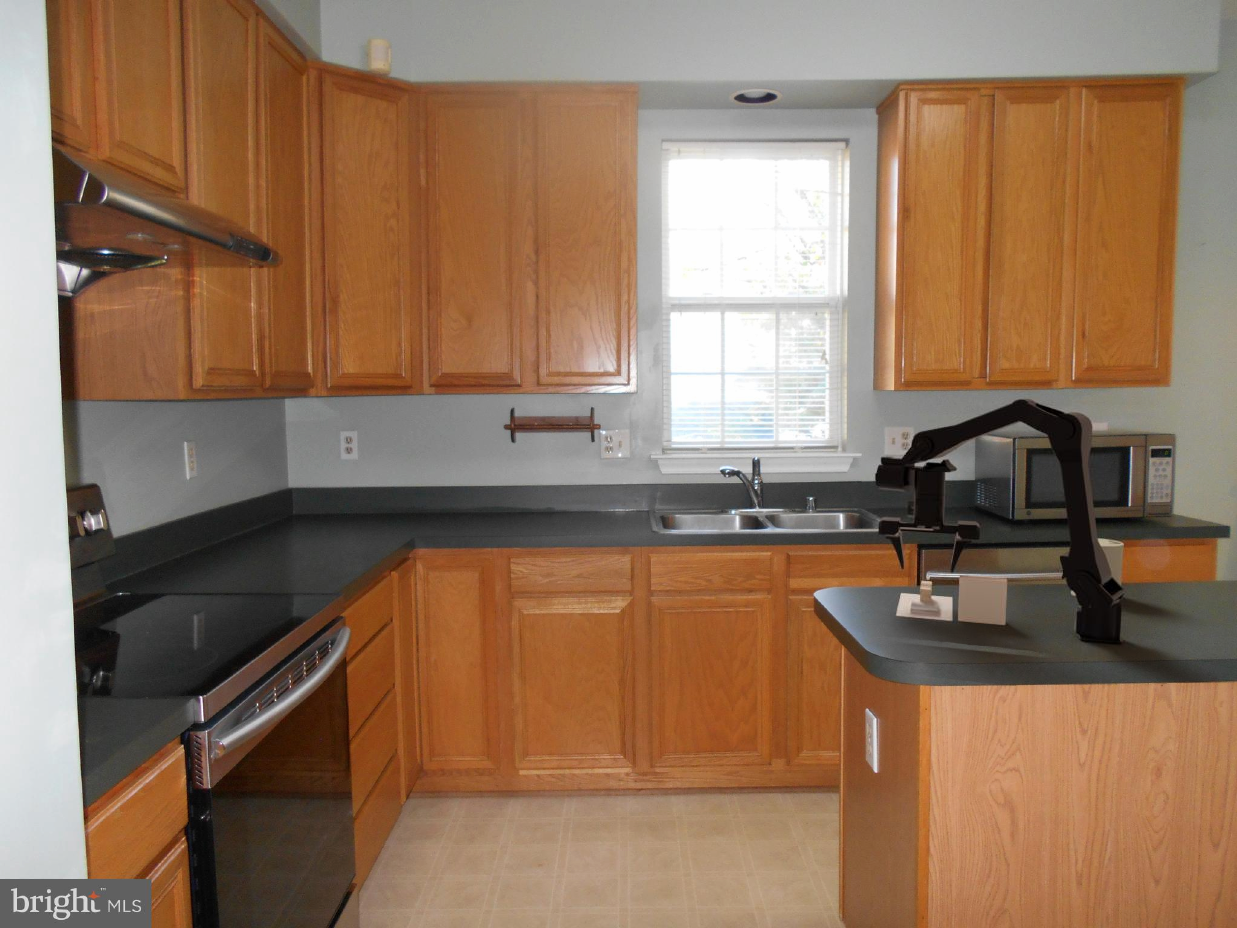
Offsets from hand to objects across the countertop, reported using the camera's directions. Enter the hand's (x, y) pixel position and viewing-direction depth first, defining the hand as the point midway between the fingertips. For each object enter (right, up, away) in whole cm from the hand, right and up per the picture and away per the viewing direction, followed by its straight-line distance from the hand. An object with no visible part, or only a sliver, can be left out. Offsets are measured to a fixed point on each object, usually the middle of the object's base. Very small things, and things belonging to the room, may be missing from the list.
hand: (927, 570), depth 171 cm
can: (+38, -7, +8) cm, 40 cm away
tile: (+5, -9, -12) cm, 16 cm away
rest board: (-1, -8, -2) cm, 8 cm away
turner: (-1, -7, -2) cm, 7 cm away
